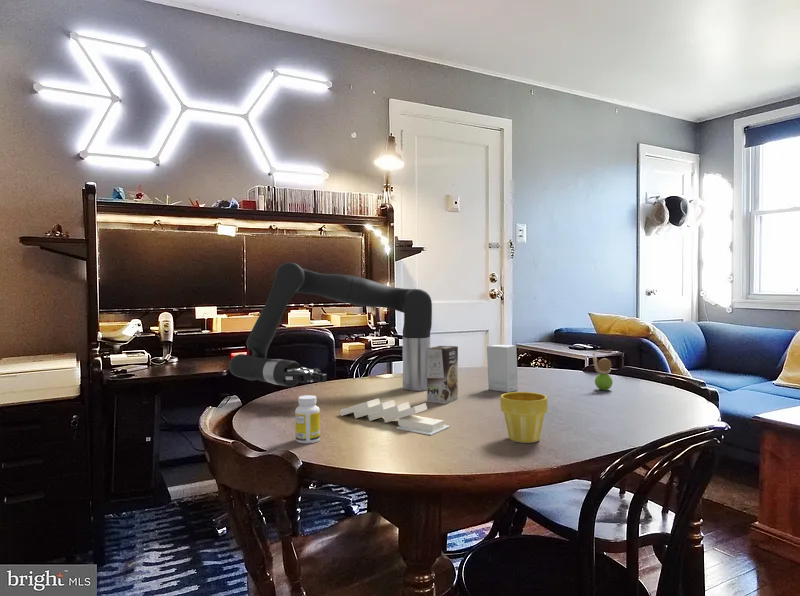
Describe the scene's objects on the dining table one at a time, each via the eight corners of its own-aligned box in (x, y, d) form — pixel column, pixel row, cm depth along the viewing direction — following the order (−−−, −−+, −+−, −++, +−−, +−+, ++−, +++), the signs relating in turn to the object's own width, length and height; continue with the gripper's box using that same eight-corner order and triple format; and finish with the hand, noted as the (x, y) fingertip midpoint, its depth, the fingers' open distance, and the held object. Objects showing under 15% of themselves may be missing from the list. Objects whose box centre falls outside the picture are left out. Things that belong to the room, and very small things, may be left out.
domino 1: (339, 410, 144) (366, 401, 138) (351, 406, 148) (378, 398, 142) (341, 415, 143) (368, 407, 138) (353, 412, 147) (380, 404, 142)
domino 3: (367, 414, 138) (396, 405, 132) (379, 411, 142) (408, 401, 136) (369, 421, 138) (398, 411, 132) (381, 417, 142) (410, 407, 136)
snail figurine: (589, 388, 179) (589, 352, 179) (607, 388, 180) (607, 352, 180) (596, 391, 174) (596, 354, 174) (615, 391, 175) (615, 354, 174)
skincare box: (518, 390, 177) (518, 345, 176) (507, 393, 172) (507, 346, 172) (497, 387, 183) (497, 343, 182) (486, 389, 179) (486, 344, 178)
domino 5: (398, 418, 132) (432, 424, 126) (409, 414, 136) (443, 420, 130) (398, 425, 132) (432, 431, 126) (409, 421, 136) (443, 427, 131)
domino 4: (383, 416, 135) (414, 406, 129) (395, 412, 139) (425, 402, 133) (385, 422, 135) (416, 413, 129) (397, 418, 139) (427, 409, 133)
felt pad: (395, 428, 130) (395, 427, 130) (416, 421, 138) (416, 419, 138) (430, 435, 124) (430, 434, 124) (450, 427, 132) (450, 425, 132)
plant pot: (490, 437, 123) (490, 394, 122) (521, 430, 129) (522, 389, 128) (525, 448, 114) (525, 402, 114) (557, 440, 120) (557, 396, 120)
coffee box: (446, 404, 156) (446, 349, 156) (426, 402, 160) (426, 347, 159) (458, 398, 164) (458, 345, 164) (439, 396, 168) (439, 344, 167)
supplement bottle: (320, 436, 124) (319, 394, 124) (320, 443, 118) (319, 399, 118) (296, 437, 123) (295, 394, 123) (294, 444, 118) (294, 400, 117)
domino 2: (353, 412, 141) (381, 403, 135) (365, 408, 145) (393, 399, 139) (355, 418, 140) (383, 409, 135) (367, 414, 144) (395, 405, 139)
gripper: (264, 362, 154) (307, 367, 144) (298, 357, 165) (340, 362, 155) (264, 388, 155) (307, 395, 144) (298, 381, 165) (340, 388, 155)
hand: (324, 378), depth 150 cm, fingers closed
